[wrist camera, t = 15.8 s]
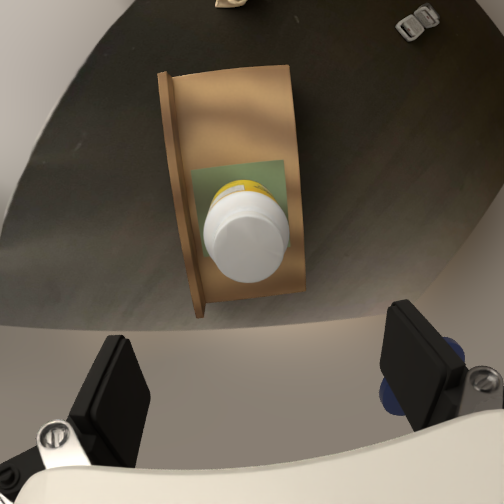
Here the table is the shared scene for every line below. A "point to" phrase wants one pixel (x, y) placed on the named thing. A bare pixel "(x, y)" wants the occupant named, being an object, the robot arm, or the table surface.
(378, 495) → the robot arm
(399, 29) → the strap clip
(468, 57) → the table surface
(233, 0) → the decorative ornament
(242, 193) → the pill bottle
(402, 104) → the table surface
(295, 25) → the table surface
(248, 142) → the shelf
